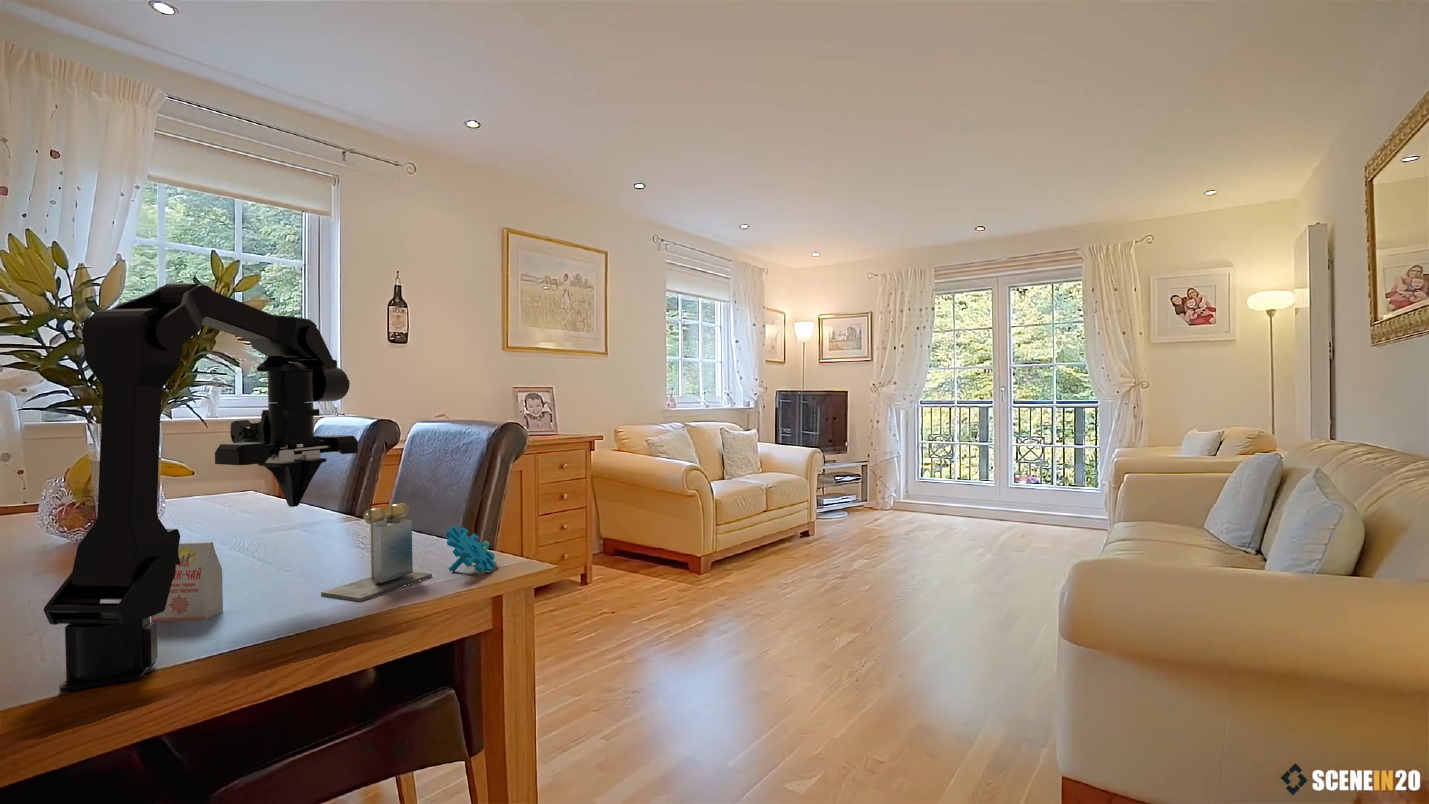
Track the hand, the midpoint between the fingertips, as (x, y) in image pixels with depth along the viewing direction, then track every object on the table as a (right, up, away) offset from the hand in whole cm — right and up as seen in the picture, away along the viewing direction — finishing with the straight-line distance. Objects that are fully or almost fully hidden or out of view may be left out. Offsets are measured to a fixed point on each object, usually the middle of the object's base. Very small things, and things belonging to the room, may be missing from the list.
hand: (293, 506), depth 100 cm
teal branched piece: (+23, -13, +12) cm, 29 cm away
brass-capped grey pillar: (+12, -13, +5) cm, 18 cm away
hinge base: (+11, -13, +3) cm, 17 cm away
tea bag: (-8, -14, -10) cm, 19 cm away
